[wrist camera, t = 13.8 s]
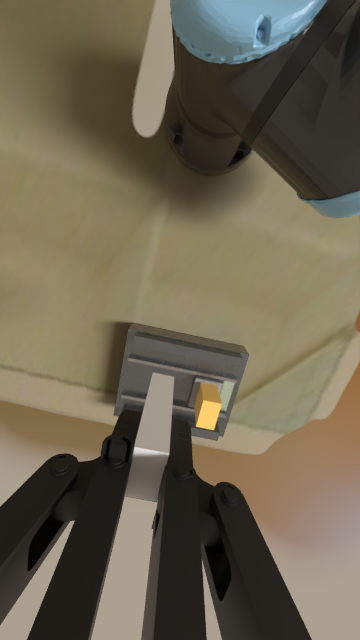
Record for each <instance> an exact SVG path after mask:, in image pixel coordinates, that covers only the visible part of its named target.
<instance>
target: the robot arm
mask: <svg viewBox="0 0 360 640" xmlns="http://www.w3.org/2000/svg"><path fill="white" fill-rule="evenodd" d="M170 7H171V18H172V31H173V46H174V63H175V76H174V79H173V81H172V83H171V85H170V88H169V91H168V95H167V100H166V107H165V120H166V129H167V135H168V138H169V142H170V144H171V147H172V149H173V151H174V152H175V154H176V155H177V157H178V158H179V159H180V160H181V162H182V163H183V164H184V165H186V166H187V167H188V168H190V169H191V170H193V171H195V172H198V173H200V174H204V175H221V174H225V173H228V172H230V171H232V170H234V169H236V168H237V167H239V166H240V165H241V164H243V163H244V162H245V161H246V160H247V159H248V158H249V156H250V155H251V154H252V152H253V151H255V152H256V153H257V154H258V155H259V156H260V157H261V158H262V159H263V160H264V161H265V162H266V163H267V164H268V165H269V166H270V167H272V168H273V169H274V170H275V171H276V172H277V173H278V174H279V175H280V176H281V177H282V178H283V179H284V180H285V181H286V182H287V183H288V184H289V185H290V186H291V187H292V188H293V189H294V190H295V191H296V192H297V196H298V197H299V198H300V199H301V200H302V201H304V202H306V203H308V204H310V205H311V206H312V207H313V208H314V209H315V210H316V211H318V212H319V213H320V214H321V215H323V216H327V217H329V218H345V217H350V216H354V215H357V214H360V0H170ZM173 390H174V377H173V376H168V375H163V374H159V373H154V372H153V374H152V378H151V382H150V386H149V390H148V394H147V398H146V402H145V405H144V409H143V412H138V411H133V410H128V409H125V410H124V411H123V412H122V413H121V414H120V415H119V418H118V420H117V423H116V425H115V428H114V431H113V433H112V435H110V436H108V437H107V438H106V439H105V440H104V441H103V444H102V450H101V456H100V457H98V458H96V459H94V460H91V461H84V462H78V460H77V458H76V457H75V456H73V455H71V454H66V453H65V454H58V455H55V456H53V457H51V458H50V459H48V460H47V461H46V462H45V463H44V464H43V465H42V466H41V467H40V468H39V469H38V470H37V471H36V472H35V473H34V474H33V475H32V476H31V477H30V478H29V479H28V480H27V481H26V482H25V483H24V484H23V485H22V486H21V487H20V488H19V489H18V490H17V491H16V492H15V493H14V494H13V495H12V496H11V497H10V498H9V499H8V500H7V501H6V502H5V503H4V504H3V505H2V506H1V507H0V625H1V623H2V622H3V620H4V619H5V617H6V616H7V614H8V613H9V611H10V610H11V608H12V607H13V605H14V604H15V602H16V601H17V599H18V598H19V596H20V595H21V594H22V592H23V590H24V589H25V587H26V586H27V585H28V583H29V582H30V580H31V579H32V577H33V576H34V574H35V573H36V571H37V570H38V568H39V567H40V565H41V564H42V562H43V561H44V559H45V558H46V556H47V555H48V553H49V552H50V551H51V549H52V548H53V546H54V545H55V543H56V542H57V540H58V539H59V537H60V536H61V534H62V533H63V531H64V530H65V528H66V527H67V525H68V524H69V522H70V521H73V520H75V522H74V524H73V527H72V529H71V532H70V534H69V537H68V539H67V542H66V544H65V547H64V549H63V552H62V554H61V557H60V559H59V562H58V564H57V566H56V569H55V571H54V574H53V576H52V579H51V581H50V584H49V586H48V589H47V591H46V594H45V596H44V599H43V601H42V604H41V606H40V609H39V611H38V614H37V616H36V619H35V621H34V624H33V626H32V629H31V631H30V633H29V636H28V639H27V640H91V636H92V632H93V628H94V623H95V620H96V615H97V611H98V607H99V602H100V598H101V594H102V590H103V586H104V581H105V577H106V573H107V569H108V565H109V561H110V556H111V552H112V548H113V543H114V539H115V535H116V531H117V527H118V523H119V518H120V514H121V509H122V505H123V500H124V496H126V497H131V498H136V499H142V500H147V501H153V502H157V500H158V504H157V509H156V513H155V517H154V521H153V525H152V529H153V537H152V546H151V556H150V565H149V574H148V583H147V592H146V602H145V611H144V620H143V629H142V638H141V640H207V639H206V622H205V605H204V589H203V574H202V573H203V572H202V560H203V564H204V568H205V572H206V576H207V580H208V584H209V588H210V592H211V596H212V600H213V604H214V608H215V612H216V616H217V620H218V624H219V629H220V632H221V637H222V640H312V639H311V637H310V635H309V633H308V631H307V629H306V627H305V624H304V622H303V620H302V618H301V616H300V614H299V612H298V610H297V608H296V605H295V603H294V601H293V599H292V597H291V595H290V593H289V591H288V589H287V586H286V585H285V582H284V580H283V578H282V576H281V574H280V572H279V570H278V568H277V565H276V563H275V561H274V559H273V557H272V555H271V553H270V551H269V548H268V546H267V544H266V542H265V540H264V538H263V536H262V534H261V532H260V530H259V528H258V525H257V523H256V521H255V519H254V517H253V515H252V513H251V511H250V508H249V506H248V504H247V502H246V500H245V498H244V496H243V494H242V493H241V491H240V490H239V489H238V488H237V487H236V486H234V485H233V484H230V483H228V482H220V483H218V484H217V485H216V486H215V487H214V486H212V485H210V484H208V483H207V482H205V481H203V480H202V479H201V478H200V477H199V476H198V475H197V474H196V472H195V469H194V468H193V460H192V442H191V441H192V440H191V427H190V425H189V423H188V421H187V420H183V419H177V418H172V405H173Z"/></svg>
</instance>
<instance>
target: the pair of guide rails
mask: <svg viewBox="0 0 360 640" xmlns="http://www.w3.org/2000/svg"><path fill="white" fill-rule="evenodd" d="M133 346H137V347H142V348H147V349H152V350H157V351H161V352H166V353H171V354H176V355H181V356H185V357H190V358H195V359H200V360H205V361H209V362H214V363H219V364H224V365H229V366H233V367H238V368H240V367H241V364H242V361H243V358H242V356H241V354H236V353H231V352H227V351H222V350H217V349H212V348H208V347H203V346H198V345H194V344H189V343H184V342H179V341H175V340H170V339H165V338H160V337H156V336H151V335H146V334H141V333H136V334H135V336H134V342H133ZM125 409H127V408H123V409H122V411H121V413H122V412H123V411H124V410H125ZM128 410H132V409H128ZM133 411H137V410H133ZM138 412H142V411H138ZM172 418H173V417H172ZM177 419H178V418H177ZM187 421H188V420H187ZM188 423H189V425H190V427H191V436H196V437H201V438H206V439H211V440H216V441H217V440H218V437H219V434H220V432H219V427H218V426H215V428H214V430H210V429H205V428H200V427H196V422H193V421H188Z"/></svg>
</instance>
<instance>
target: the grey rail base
mask: <svg viewBox="0 0 360 640" xmlns="http://www.w3.org/2000/svg"><path fill="white" fill-rule="evenodd" d="M136 333H141V334H146V335H151V336H156V337H160V338H165V339H170V340H175V341H179V342H184V343H189V344H194V345H198V346H203V347H208V348H212V349H217V350H222V351H227V352H231V353H236V354H241V356H242V358H243V361H242V364H241V367H240V368H238V367H233V366H229V365H224V364H219V363H214V362H209V361H205V360H200V359H195V358H190V357H185V356H181V355H176V354H171V353H166V352H161V351H157V350H152V349H147V348H142V347H137V346H133V342H134V336H135V334H136ZM248 357H249V354H248V352H247V351H246V349H245V348H244V346H239V345H234V344H230V343H225V342H220V341H216V340H211V339H206V338H201V337H197V336H192V335H187V334H183V333H178V332H173V331H169V330H164V329H159V328H155V327H150V326H145V325H140V324H136V323H133V324H132V325H131V326H130V328H129V329H128V334H127V340H126V346H125V352H124V358H123V363H122V369H121V375H120V381H119V387H118V393H117V398H116V404H115V410H114V416H119V415H120V414H121V411H122V409H123V408H127V409H132V410H137V411H142V412H143V409H144V405H145V402H146V398H147V394H148V390H149V386H150V382H151V378H152V374H153V372H154V373H159V374H163V375H168V376H173V377H174V390H173V405H172V417H173V418H178V419H183V420H188V421H193V422H196V421H195V408H193V407H188V403H189V399H190V395H191V391H192V388H193V384H194V380H195V376H200V377H205V378H210V379H215V380H220V381H222V382H223V385H222V389H221V392H220V399H221V403H222V405H221V409H220V412H219V415H218V418H217V422H216V425H215V426H218V427H219V432H220V434H219V436H223V435H224V432H225V429H226V426H227V423H228V419H229V416H230V413H231V410H232V407H233V404H234V401H235V398H236V394H237V391H238V388H239V385H240V382H241V379H242V376H243V372H244V369H245V366H246V363H247V360H248Z"/></svg>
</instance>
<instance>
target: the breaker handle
mask: <svg viewBox="0 0 360 640" xmlns="http://www.w3.org/2000/svg"><path fill="white" fill-rule="evenodd" d="M222 385H223V382H222V381H220V380H215V379H210V378H205V377H200V376H195V380H194V384H193V388H192V391H191V395H190V399H189V403H188V407H193V408H195V421H196V427H200V428H205V429H210V430H214V428H215V425H216V422H217V418H218V415H219V412H220V409H221V405H222V403H221V399H220V392H221V389H222Z"/></svg>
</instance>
